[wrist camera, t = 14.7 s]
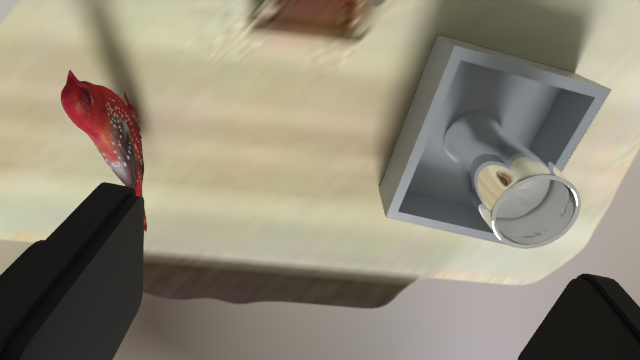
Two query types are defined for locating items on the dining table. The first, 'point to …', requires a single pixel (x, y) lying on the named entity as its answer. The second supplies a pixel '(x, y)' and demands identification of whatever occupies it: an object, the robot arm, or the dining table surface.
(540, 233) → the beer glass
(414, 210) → the box
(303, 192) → the dining table surface
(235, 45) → the dining table surface
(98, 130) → the decorative bird figurine
